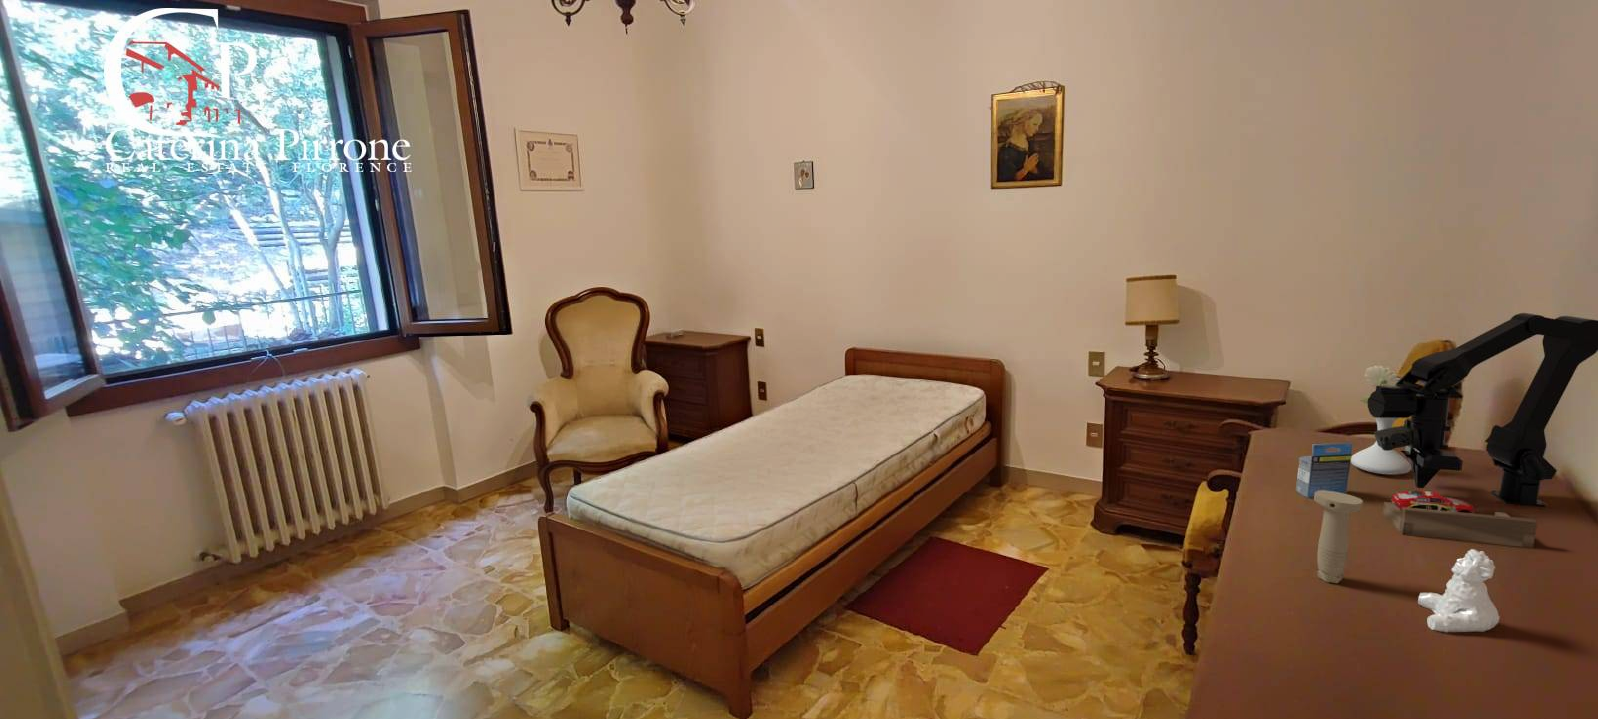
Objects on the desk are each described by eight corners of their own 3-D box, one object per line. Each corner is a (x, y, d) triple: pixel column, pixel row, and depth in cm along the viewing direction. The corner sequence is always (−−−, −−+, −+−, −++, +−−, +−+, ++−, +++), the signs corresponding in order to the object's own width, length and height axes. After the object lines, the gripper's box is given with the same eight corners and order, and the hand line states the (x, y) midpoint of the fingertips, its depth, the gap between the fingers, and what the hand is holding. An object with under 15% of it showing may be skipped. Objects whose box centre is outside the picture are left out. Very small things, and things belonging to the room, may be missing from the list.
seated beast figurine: (1414, 600, 113) (1423, 531, 111) (1486, 613, 109) (1497, 541, 107) (1428, 630, 105) (1439, 556, 103) (1507, 645, 101) (1520, 568, 99)
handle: (1346, 591, 117) (1356, 506, 114) (1302, 577, 122) (1310, 495, 119) (1357, 582, 119) (1366, 498, 117) (1312, 568, 125) (1321, 488, 122)
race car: (1467, 510, 145) (1469, 492, 144) (1479, 521, 140) (1482, 502, 140) (1387, 503, 150) (1389, 485, 150) (1397, 513, 145) (1399, 494, 145)
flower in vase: (1424, 478, 162) (1437, 372, 157) (1373, 479, 162) (1386, 374, 158) (1378, 459, 175) (1390, 361, 170) (1332, 461, 175) (1342, 363, 170)
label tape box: (1333, 489, 158) (1338, 437, 156) (1347, 496, 154) (1353, 442, 152) (1294, 491, 158) (1299, 439, 156) (1308, 498, 154) (1313, 444, 152)
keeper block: (1382, 513, 145) (1385, 490, 144) (1503, 524, 138) (1506, 500, 137) (1402, 534, 135) (1405, 510, 135) (1533, 547, 128) (1537, 522, 127)
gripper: (1366, 404, 160) (1358, 469, 163) (1397, 427, 143) (1389, 499, 146) (1428, 407, 155) (1419, 474, 158) (1468, 431, 139) (1458, 505, 142)
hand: (1419, 487), depth 151 cm, fingers closed
